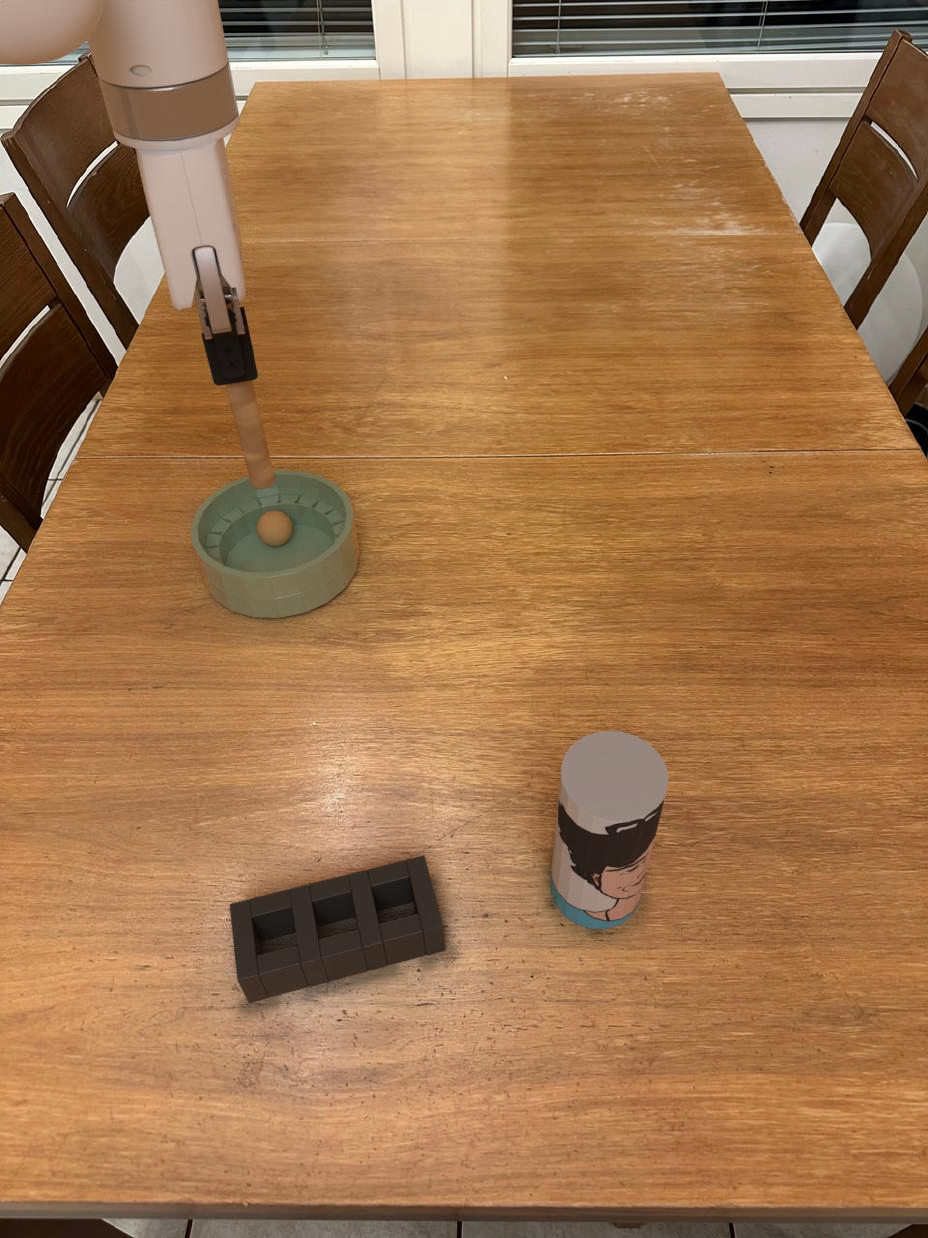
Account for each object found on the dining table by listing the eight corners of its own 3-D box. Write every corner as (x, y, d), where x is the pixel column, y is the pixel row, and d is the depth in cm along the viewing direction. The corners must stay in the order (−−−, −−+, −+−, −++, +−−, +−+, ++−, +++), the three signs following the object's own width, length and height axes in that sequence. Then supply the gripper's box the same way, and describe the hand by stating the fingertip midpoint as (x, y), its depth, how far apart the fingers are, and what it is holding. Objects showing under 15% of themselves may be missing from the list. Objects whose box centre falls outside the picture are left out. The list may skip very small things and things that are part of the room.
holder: (248, 1003, 65) (237, 980, 62) (240, 929, 69) (229, 903, 66) (445, 951, 67) (443, 926, 64) (427, 881, 71) (424, 854, 68)
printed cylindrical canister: (600, 948, 67) (621, 842, 56) (531, 886, 71) (538, 774, 60) (659, 886, 70) (690, 774, 59) (590, 829, 74) (607, 713, 63)
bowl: (211, 636, 88) (196, 591, 84) (199, 530, 98) (185, 485, 94) (373, 603, 91) (366, 558, 86) (345, 503, 101) (338, 458, 96)
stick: (251, 490, 76) (205, 309, 65) (249, 475, 78) (203, 295, 66) (276, 486, 77) (234, 305, 65) (273, 471, 78) (232, 291, 66)
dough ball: (262, 556, 95) (255, 529, 92) (258, 533, 97) (251, 506, 94) (297, 549, 95) (292, 522, 93) (292, 526, 98) (287, 499, 95)
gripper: (107, 64, 61) (178, 323, 74) (106, 160, 50) (189, 442, 64) (224, 51, 62) (273, 309, 75) (247, 143, 51) (299, 424, 65)
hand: (234, 368), depth 69 cm, fingers closed on stick, 2 cm apart
